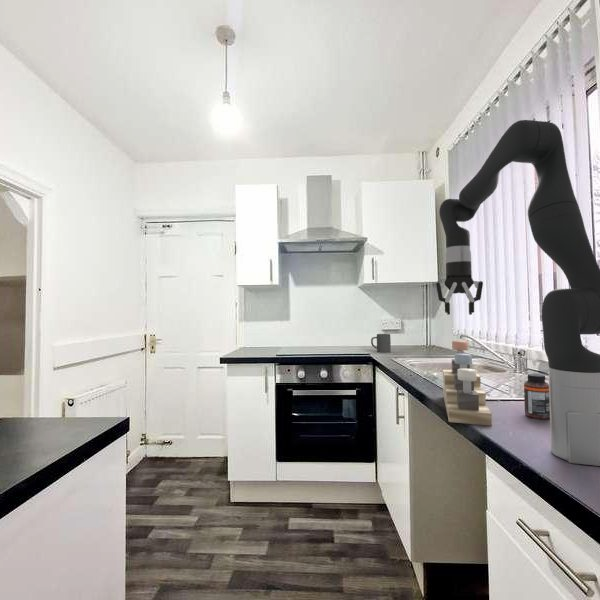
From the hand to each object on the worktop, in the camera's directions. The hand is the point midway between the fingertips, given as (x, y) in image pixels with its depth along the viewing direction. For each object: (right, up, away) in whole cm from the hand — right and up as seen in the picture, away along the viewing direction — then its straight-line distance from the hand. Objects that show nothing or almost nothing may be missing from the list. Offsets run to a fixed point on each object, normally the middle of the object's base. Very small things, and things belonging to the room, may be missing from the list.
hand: (459, 314), depth 115 cm
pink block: (0, -15, 0) cm, 15 cm away
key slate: (-3, -18, -9) cm, 21 cm away
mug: (+4, -31, +131) cm, 135 cm away
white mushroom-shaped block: (-6, -21, -18) cm, 28 cm away
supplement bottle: (+14, -27, -17) cm, 35 cm away
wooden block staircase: (-3, -27, -9) cm, 29 cm away
